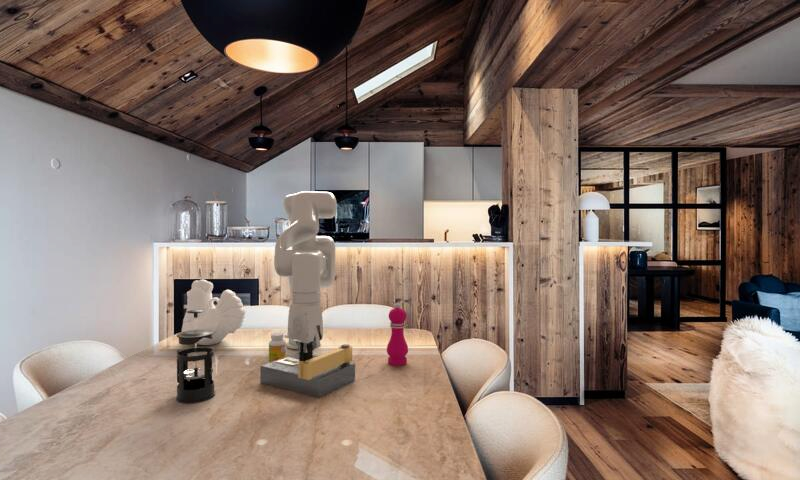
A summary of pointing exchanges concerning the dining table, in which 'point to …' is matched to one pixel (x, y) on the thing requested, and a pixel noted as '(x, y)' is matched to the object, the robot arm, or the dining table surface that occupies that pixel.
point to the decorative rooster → (213, 312)
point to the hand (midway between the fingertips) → (306, 365)
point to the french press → (196, 380)
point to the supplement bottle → (277, 347)
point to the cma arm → (325, 362)
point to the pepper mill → (397, 337)
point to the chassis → (286, 377)
